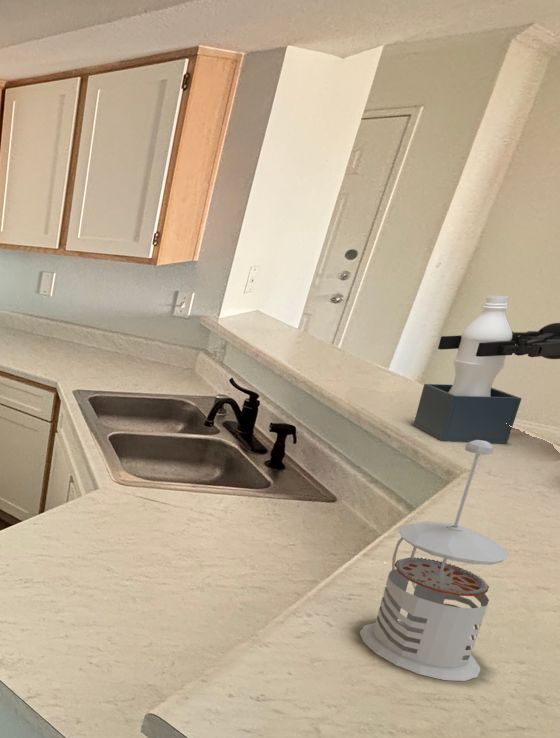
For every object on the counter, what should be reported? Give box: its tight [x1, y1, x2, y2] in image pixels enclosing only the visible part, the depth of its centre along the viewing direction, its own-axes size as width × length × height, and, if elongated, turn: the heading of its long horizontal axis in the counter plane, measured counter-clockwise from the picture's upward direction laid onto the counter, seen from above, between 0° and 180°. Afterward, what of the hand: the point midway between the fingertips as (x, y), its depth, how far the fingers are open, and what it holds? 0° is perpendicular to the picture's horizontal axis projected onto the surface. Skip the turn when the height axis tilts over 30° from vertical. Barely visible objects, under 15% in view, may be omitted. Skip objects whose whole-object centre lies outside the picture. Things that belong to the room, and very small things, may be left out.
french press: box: [359, 440, 509, 682], centre depth 63 cm, size 10×12×25 cm
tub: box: [412, 383, 522, 445], centre depth 126 cm, size 11×11×10 cm
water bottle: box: [448, 294, 513, 397], centre depth 122 cm, size 7×7×25 cm
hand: (459, 346), depth 121 cm, fingers closed on water bottle, 7 cm apart
